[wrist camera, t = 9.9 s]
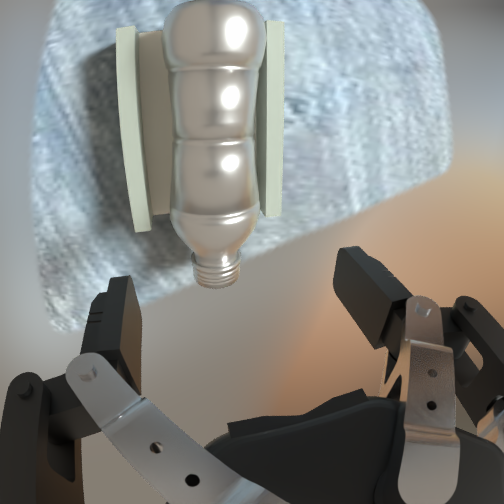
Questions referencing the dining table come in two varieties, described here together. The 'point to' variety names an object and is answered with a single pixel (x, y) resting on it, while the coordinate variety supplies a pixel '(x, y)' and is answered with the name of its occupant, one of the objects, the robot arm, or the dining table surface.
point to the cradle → (160, 122)
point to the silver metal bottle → (214, 130)
